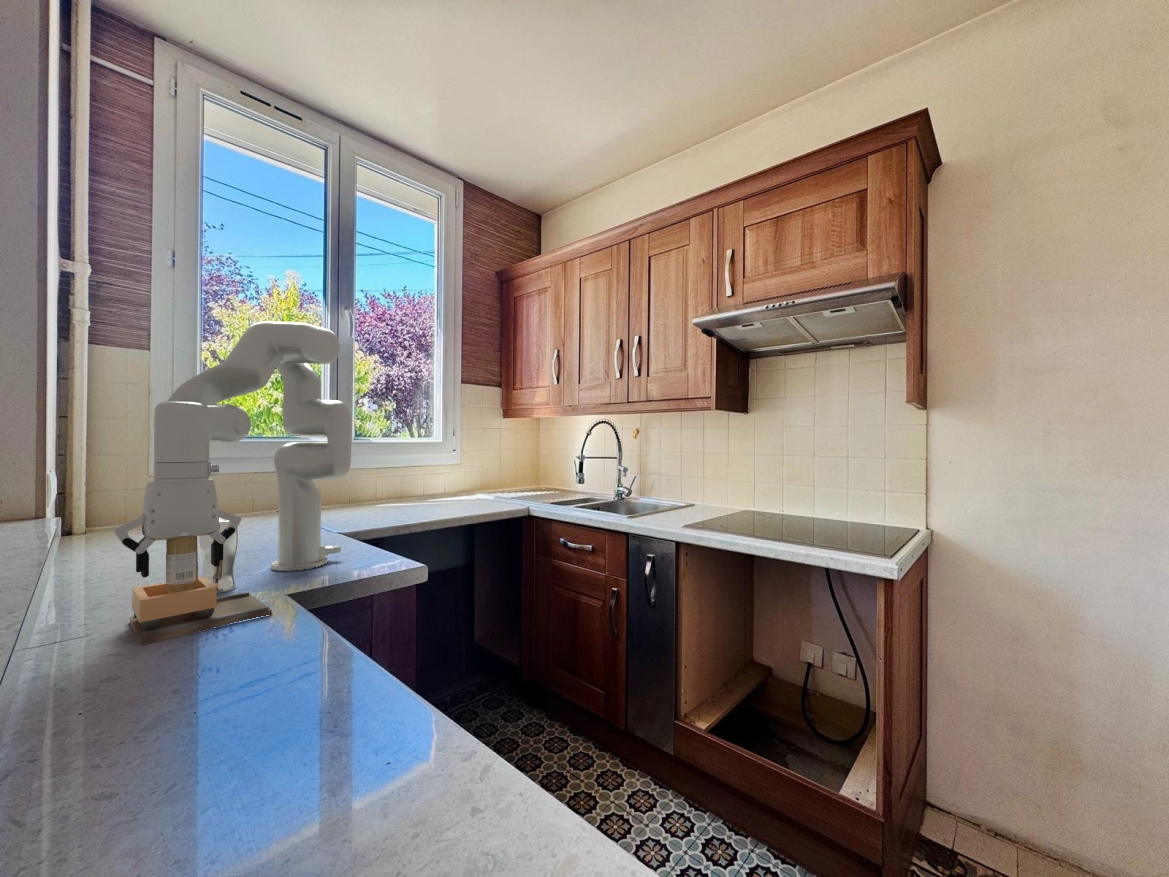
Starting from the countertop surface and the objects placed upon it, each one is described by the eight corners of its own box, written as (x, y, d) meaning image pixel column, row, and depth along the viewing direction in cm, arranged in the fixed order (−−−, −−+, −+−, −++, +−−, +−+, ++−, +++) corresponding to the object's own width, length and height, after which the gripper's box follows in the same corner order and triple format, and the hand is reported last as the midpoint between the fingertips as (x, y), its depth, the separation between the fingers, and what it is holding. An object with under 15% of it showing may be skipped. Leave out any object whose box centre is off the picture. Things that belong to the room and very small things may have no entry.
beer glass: (222, 595, 102) (222, 522, 102) (189, 594, 102) (189, 522, 102) (245, 585, 109) (246, 517, 109) (214, 585, 109) (215, 517, 109)
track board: (250, 598, 100) (250, 590, 100) (271, 615, 90) (271, 606, 90) (129, 622, 86) (129, 613, 86) (140, 645, 77) (140, 635, 77)
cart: (204, 604, 92) (204, 576, 92) (216, 616, 86) (216, 587, 86) (131, 618, 85) (132, 587, 85) (139, 633, 78) (139, 600, 78)
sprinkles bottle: (200, 594, 89) (200, 520, 89) (195, 601, 85) (196, 524, 85) (168, 598, 87) (168, 522, 87) (161, 606, 83) (162, 526, 83)
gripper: (235, 469, 95) (235, 558, 95) (112, 473, 82) (111, 576, 82) (246, 471, 90) (245, 565, 90) (116, 476, 77) (115, 585, 77)
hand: (181, 570), depth 86 cm, fingers open, 9 cm apart
